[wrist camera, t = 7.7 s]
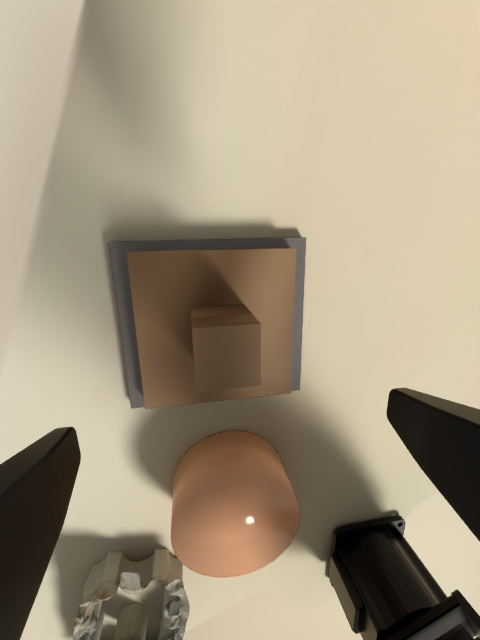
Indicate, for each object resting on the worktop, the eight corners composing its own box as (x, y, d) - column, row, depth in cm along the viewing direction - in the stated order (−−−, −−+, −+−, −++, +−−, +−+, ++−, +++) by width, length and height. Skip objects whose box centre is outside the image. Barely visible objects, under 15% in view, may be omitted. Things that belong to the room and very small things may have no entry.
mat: (302, 237, 18) (306, 237, 17) (296, 385, 21) (299, 389, 20) (110, 241, 16) (108, 241, 15) (132, 403, 19) (131, 408, 18)
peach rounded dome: (281, 424, 21) (302, 464, 18) (280, 510, 24) (298, 563, 20) (168, 438, 20) (164, 486, 16) (178, 528, 22) (176, 589, 18)
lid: (290, 247, 17) (329, 252, 13) (286, 385, 20) (317, 432, 15) (130, 251, 16) (106, 257, 11) (147, 399, 18) (133, 456, 14)
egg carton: (92, 543, 22) (71, 610, 18) (194, 542, 23) (195, 603, 19) (79, 645, 24) (59, 724, 20) (172, 638, 26) (170, 709, 22)
